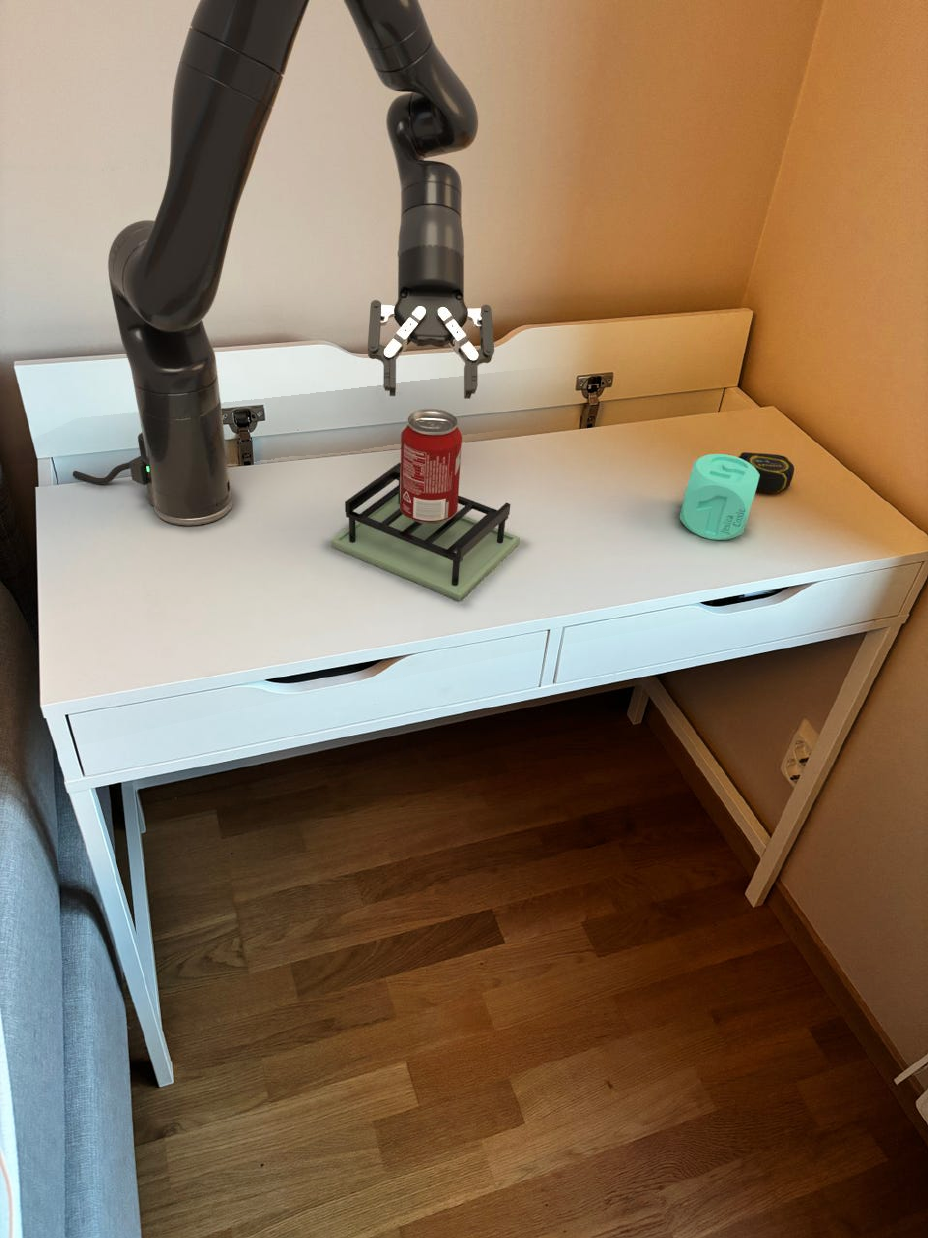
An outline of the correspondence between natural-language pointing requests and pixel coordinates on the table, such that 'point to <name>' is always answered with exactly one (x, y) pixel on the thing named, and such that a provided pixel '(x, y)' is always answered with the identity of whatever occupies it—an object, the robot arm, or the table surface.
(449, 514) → the soda can
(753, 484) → the decorative dice
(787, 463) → the tape measure
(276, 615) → the table surface
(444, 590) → the drip tray
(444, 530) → the drying rack
